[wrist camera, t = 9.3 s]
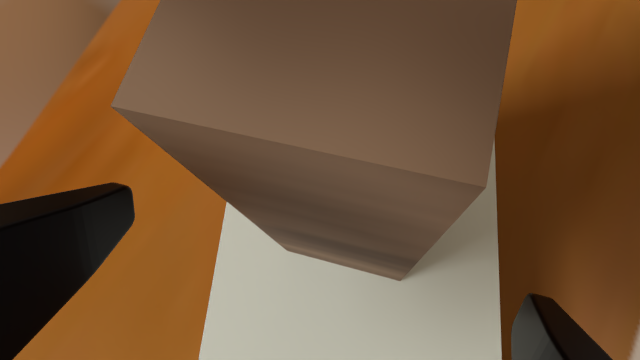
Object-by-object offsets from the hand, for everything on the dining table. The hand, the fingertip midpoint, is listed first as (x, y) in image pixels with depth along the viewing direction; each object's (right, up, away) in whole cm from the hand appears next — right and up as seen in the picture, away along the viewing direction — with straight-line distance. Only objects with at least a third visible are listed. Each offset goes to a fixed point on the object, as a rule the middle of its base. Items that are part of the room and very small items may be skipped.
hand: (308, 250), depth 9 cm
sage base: (+2, -3, +11) cm, 12 cm away
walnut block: (+2, 0, +9) cm, 9 cm away
